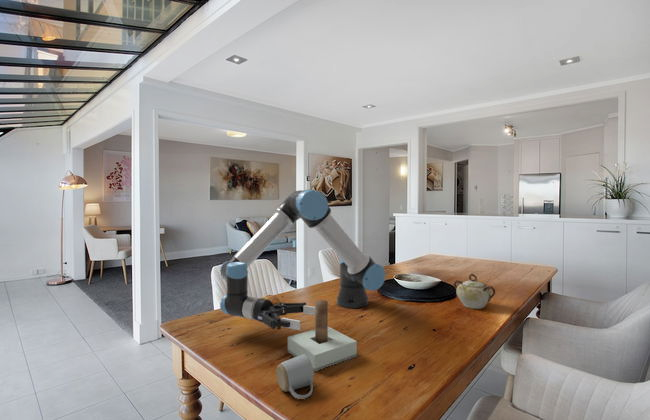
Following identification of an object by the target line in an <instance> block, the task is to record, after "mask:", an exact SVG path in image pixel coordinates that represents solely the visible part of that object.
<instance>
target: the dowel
mask: <svg viewBox="0 0 650 420" xmlns="http://www.w3.org/2000/svg"><path fill="white" fill-rule="evenodd" d="M314 302H315V304H314V307H315V315H314V316H315V317H314V318H315V320H314V321H315V324H314V325H315V326H314V327H315V328H314V329H315V342H317V343H318V344H321V343H325V342H328V327H329V325H328V322H329V321H328V320H329V318H328V317H329V315H328V311H329V310H328V303H329V301H328V300H325V299H318V300H316V301H314Z"/></svg>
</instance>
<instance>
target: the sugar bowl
mask: <svg viewBox="0 0 650 420" xmlns="http://www.w3.org/2000/svg"><path fill="white" fill-rule="evenodd" d="M472 277H473V278H474V279H473V278H472ZM468 278H469V280H466V281H461V280H458V279H457V280H455V281H454V283H453V287H454V289H455V291H456V296H457V297H458V299H459V300H460V302H461V303H462V305H463V306H464V307H466V308H468V309H475V310H476V309H477V310H479V309H484V308H485V307H486V305H487V304H488V303H489V302H490V301H491V299H492V298H494V296H495V294H496V289H495V288H494V286H491V285H490V286H488V285H487V284H486V283H483V282H482V281H478V277H477V276H476V275H475V274H474V273H470V274H469V277H468Z"/></svg>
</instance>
